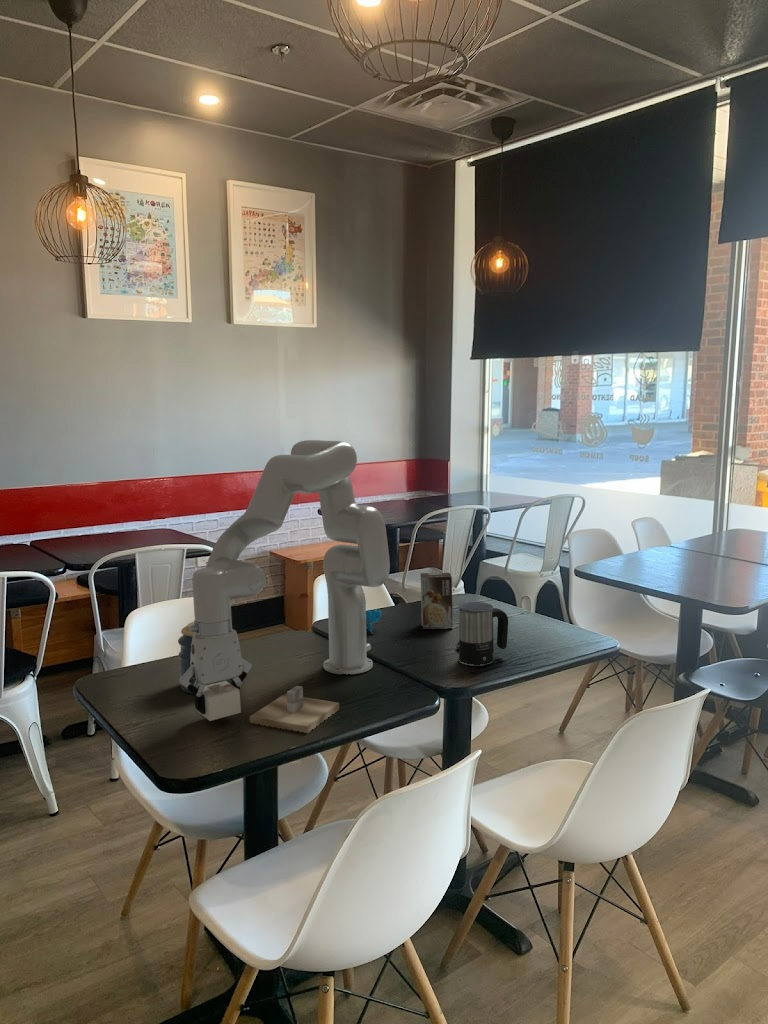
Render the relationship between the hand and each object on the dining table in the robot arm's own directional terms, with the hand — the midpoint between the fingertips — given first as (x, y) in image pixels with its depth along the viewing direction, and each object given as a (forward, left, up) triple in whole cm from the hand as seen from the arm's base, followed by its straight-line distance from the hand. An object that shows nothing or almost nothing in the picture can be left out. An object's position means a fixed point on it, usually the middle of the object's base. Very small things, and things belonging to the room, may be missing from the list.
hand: (218, 706), depth 169 cm
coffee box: (-84, +18, -3) cm, 86 cm away
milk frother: (-62, +37, -3) cm, 72 cm away
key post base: (-8, +14, -3) cm, 17 cm away
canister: (-16, -15, -3) cm, 23 cm away
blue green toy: (-71, 0, -3) cm, 71 cm away
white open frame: (0, 0, -1) cm, 1 cm away
